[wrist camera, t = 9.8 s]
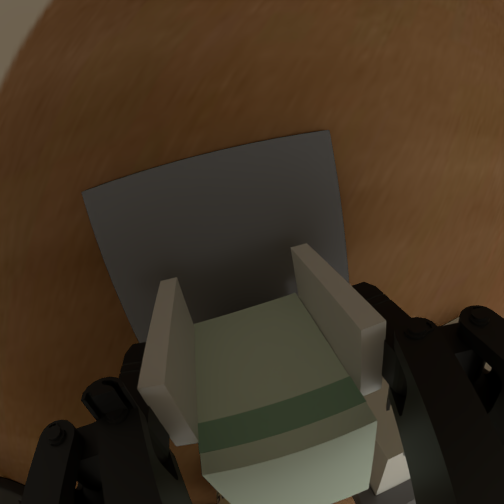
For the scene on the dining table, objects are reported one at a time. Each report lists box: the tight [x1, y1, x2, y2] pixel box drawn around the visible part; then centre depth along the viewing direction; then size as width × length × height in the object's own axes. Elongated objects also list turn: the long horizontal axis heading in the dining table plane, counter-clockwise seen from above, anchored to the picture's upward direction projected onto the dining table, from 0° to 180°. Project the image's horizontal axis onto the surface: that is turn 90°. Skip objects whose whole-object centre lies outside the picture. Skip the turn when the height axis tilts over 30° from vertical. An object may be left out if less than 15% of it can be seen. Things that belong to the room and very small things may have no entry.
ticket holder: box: [352, 317, 492, 504], centre depth 17 cm, size 14×9×10 cm, turn 102°
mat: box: [82, 130, 349, 343], centre depth 15 cm, size 12×12×1 cm
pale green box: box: [194, 293, 377, 504], centre depth 11 cm, size 5×6×8 cm
